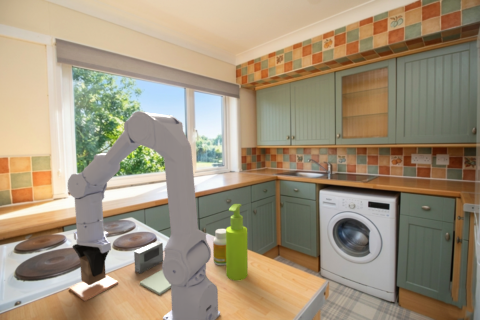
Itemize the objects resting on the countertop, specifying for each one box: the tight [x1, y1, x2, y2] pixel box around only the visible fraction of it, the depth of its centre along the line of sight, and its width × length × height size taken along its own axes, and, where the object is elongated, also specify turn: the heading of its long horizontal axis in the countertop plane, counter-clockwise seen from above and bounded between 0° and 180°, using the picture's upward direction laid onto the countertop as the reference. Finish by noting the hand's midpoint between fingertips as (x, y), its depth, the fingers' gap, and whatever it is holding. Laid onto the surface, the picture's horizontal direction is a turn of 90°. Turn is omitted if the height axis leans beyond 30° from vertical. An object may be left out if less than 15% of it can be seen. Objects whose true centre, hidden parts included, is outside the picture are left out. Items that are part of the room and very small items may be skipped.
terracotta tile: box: [69, 274, 119, 302], centre depth 61 cm, size 8×8×1 cm
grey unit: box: [133, 240, 164, 275], centre depth 71 cm, size 3×8×6 cm, turn 147°
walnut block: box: [79, 256, 107, 285], centre depth 61 cm, size 4×4×6 cm
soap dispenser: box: [225, 203, 249, 282], centre depth 65 cm, size 6×7×20 cm
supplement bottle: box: [212, 228, 226, 266], centre depth 73 cm, size 5×5×10 cm
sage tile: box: [139, 269, 171, 296], centre depth 64 cm, size 8×8×1 cm
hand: (93, 271), depth 61 cm, fingers closed on walnut block, 4 cm apart
